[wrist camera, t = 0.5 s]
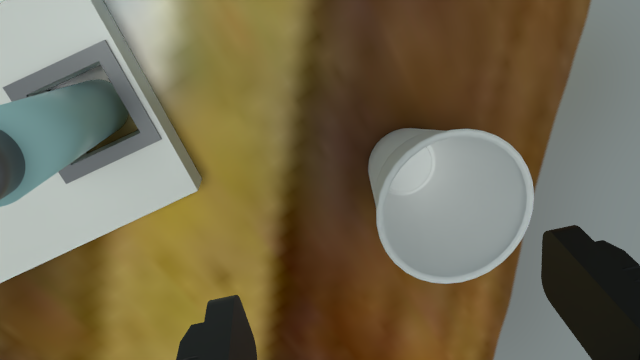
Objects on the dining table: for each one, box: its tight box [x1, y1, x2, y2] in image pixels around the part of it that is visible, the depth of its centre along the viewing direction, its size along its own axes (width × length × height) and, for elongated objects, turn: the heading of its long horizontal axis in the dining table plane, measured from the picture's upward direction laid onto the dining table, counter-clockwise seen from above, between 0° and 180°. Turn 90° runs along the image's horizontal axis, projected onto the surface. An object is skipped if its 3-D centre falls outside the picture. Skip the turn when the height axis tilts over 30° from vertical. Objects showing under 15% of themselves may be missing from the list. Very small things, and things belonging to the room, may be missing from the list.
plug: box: [0, 80, 128, 207], centre depth 26 cm, size 4×4×19 cm
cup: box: [368, 128, 534, 284], centre depth 34 cm, size 10×10×11 cm
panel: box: [0, 0, 202, 283], centre depth 34 cm, size 16×22×4 cm
